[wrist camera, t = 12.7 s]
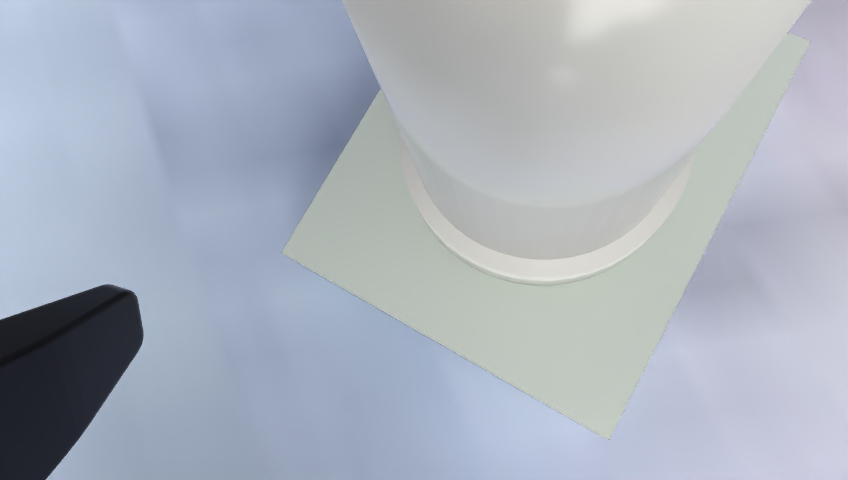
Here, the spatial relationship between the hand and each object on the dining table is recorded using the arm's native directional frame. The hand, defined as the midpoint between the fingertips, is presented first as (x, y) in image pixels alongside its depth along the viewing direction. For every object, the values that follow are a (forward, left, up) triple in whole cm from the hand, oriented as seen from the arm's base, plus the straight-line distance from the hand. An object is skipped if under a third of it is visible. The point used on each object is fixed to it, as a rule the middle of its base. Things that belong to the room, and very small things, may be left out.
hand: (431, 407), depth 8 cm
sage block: (+7, +2, -11) cm, 13 cm away
